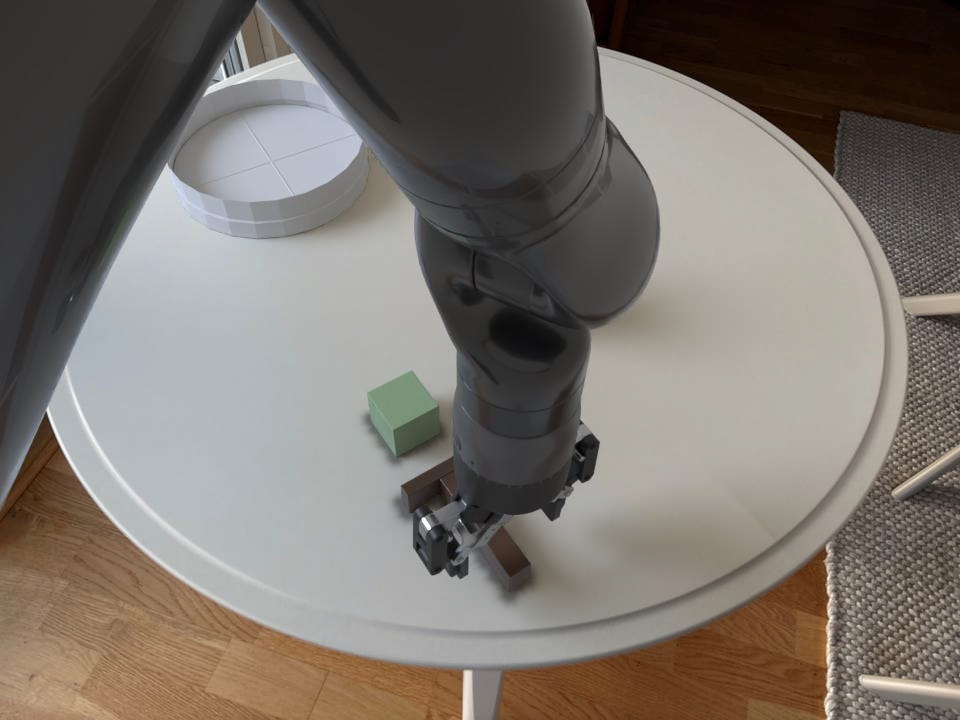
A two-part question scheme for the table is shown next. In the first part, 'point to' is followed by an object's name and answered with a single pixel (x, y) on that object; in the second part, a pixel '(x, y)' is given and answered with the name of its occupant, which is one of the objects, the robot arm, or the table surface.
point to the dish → (268, 160)
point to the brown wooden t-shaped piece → (500, 547)
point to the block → (404, 413)
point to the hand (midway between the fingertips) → (503, 537)
